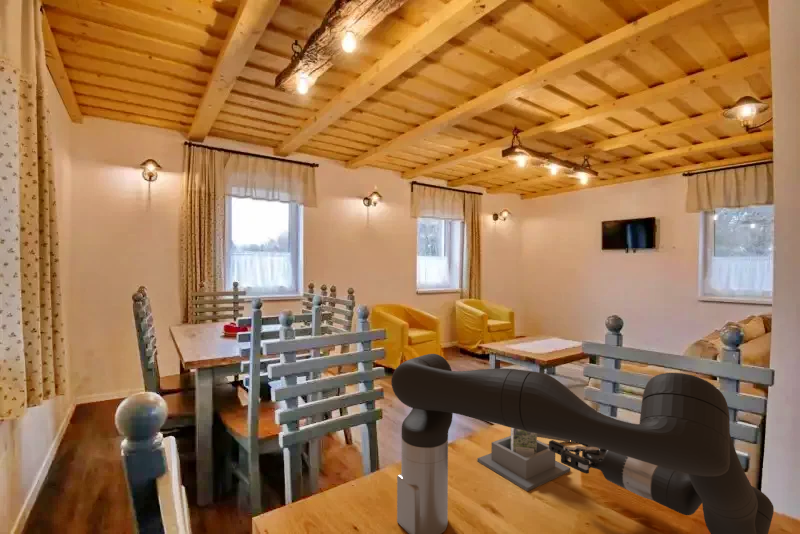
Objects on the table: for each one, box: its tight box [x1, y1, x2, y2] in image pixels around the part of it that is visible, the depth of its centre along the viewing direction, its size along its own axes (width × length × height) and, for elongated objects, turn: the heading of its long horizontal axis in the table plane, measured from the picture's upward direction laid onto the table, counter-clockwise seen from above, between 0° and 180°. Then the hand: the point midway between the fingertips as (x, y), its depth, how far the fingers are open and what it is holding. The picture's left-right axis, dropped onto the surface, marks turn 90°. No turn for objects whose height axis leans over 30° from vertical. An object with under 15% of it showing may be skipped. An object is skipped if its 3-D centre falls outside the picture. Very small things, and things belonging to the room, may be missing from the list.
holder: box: [476, 435, 571, 492], centre depth 102 cm, size 16×16×5 cm
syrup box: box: [510, 427, 538, 458], centre depth 102 cm, size 6×6×14 cm
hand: (561, 439), depth 92 cm, fingers open, 8 cm apart
